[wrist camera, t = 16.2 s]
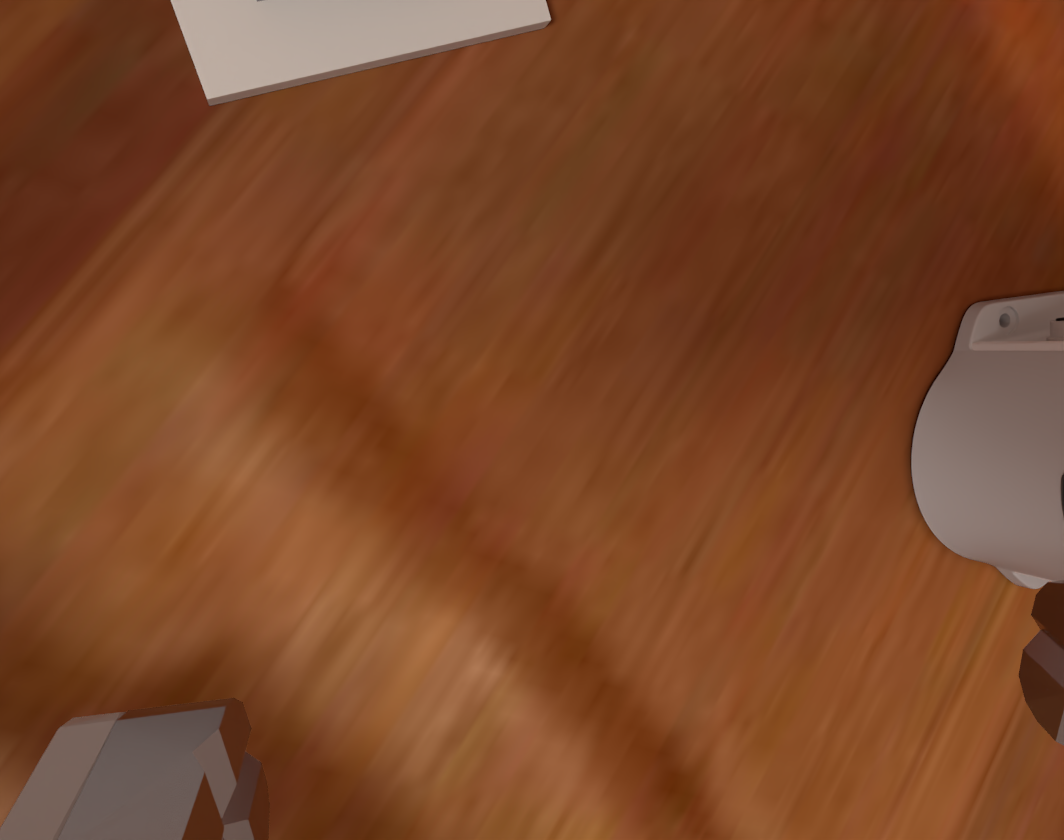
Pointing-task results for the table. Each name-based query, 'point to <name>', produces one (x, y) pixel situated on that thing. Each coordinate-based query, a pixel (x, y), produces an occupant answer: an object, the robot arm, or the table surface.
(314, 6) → the socket mount
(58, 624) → the table surface
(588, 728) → the table surface
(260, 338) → the table surface
